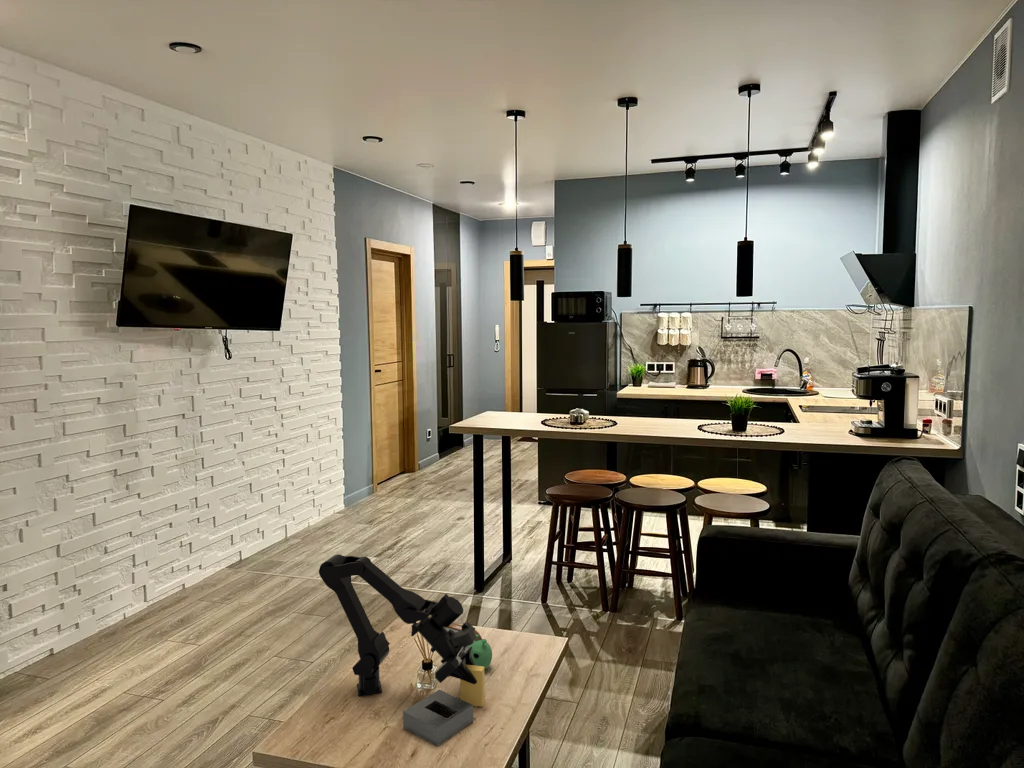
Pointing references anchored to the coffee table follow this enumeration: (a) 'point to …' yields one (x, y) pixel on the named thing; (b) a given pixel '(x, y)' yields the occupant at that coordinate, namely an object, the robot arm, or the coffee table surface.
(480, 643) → the alien toy
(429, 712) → the box
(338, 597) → the robot arm
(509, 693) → the coffee table surface
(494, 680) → the coffee table surface
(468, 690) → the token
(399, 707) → the coffee table surface
